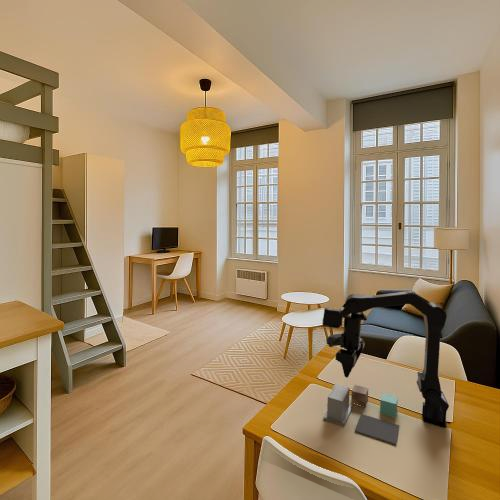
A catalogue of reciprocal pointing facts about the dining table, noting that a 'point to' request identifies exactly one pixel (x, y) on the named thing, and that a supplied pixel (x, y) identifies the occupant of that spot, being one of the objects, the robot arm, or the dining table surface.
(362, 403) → the walnut block
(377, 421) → the dark grey mat
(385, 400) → the teal block
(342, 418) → the grey upright box
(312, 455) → the dining table surface
